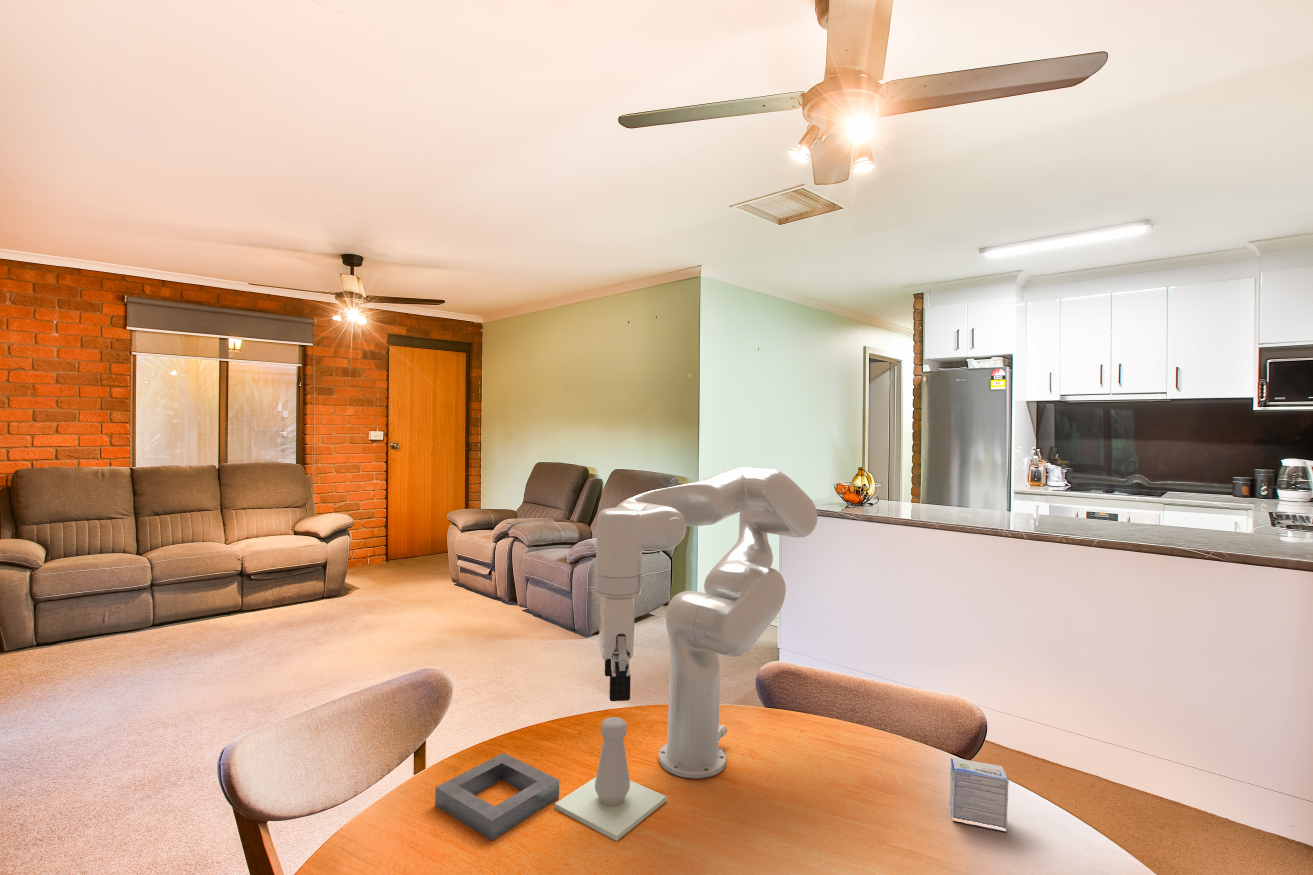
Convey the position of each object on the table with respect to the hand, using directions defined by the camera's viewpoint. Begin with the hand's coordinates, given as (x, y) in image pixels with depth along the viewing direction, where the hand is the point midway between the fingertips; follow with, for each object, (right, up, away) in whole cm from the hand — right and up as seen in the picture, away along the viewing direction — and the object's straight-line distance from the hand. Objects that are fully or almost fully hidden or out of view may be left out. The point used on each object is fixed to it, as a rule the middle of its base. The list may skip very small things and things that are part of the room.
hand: (616, 687), depth 102 cm
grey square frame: (-19, -19, 0) cm, 27 cm away
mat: (-1, -19, 0) cm, 19 cm away
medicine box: (+59, -21, -1) cm, 63 cm away
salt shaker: (-1, -19, 0) cm, 19 cm away
